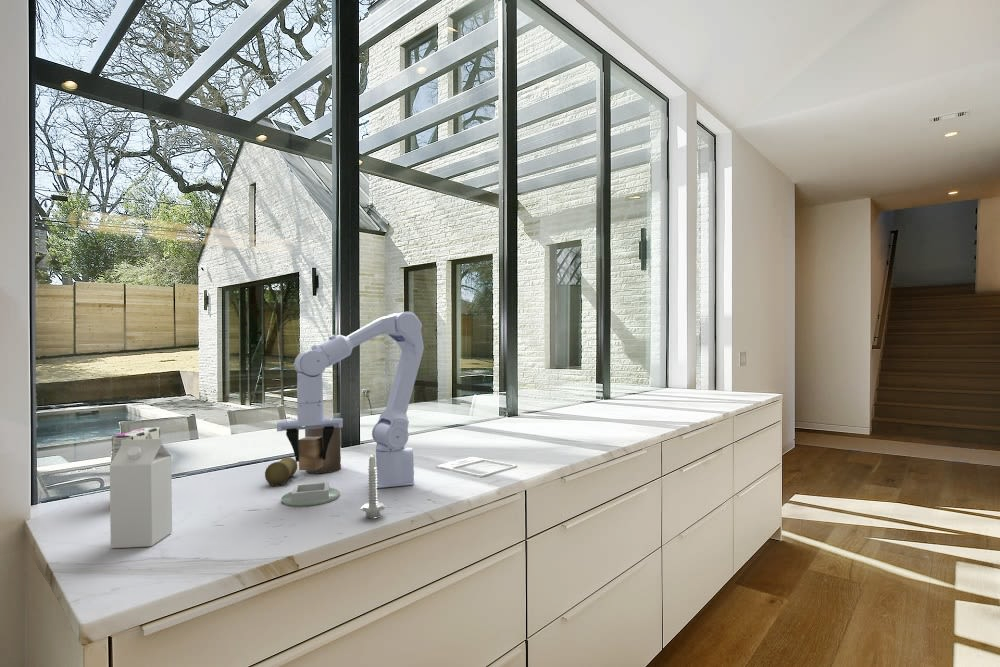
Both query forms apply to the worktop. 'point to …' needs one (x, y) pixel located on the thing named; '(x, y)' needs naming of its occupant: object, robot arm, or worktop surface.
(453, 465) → the photo frame
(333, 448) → the pillar candle
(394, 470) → the robot arm
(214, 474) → the worktop surface
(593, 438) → the worktop surface
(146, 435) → the candy bar box
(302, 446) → the brown tall block
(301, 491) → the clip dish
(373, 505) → the screw
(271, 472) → the olive cylinder
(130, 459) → the milk carton
